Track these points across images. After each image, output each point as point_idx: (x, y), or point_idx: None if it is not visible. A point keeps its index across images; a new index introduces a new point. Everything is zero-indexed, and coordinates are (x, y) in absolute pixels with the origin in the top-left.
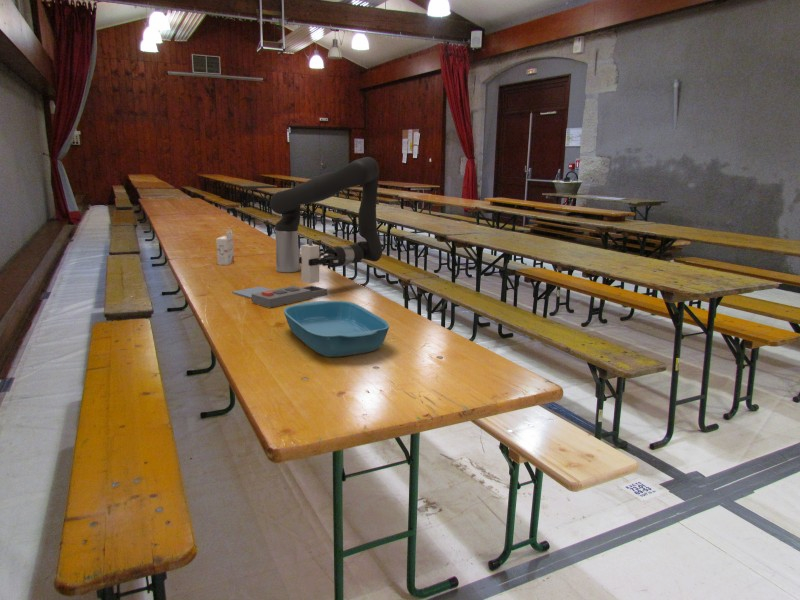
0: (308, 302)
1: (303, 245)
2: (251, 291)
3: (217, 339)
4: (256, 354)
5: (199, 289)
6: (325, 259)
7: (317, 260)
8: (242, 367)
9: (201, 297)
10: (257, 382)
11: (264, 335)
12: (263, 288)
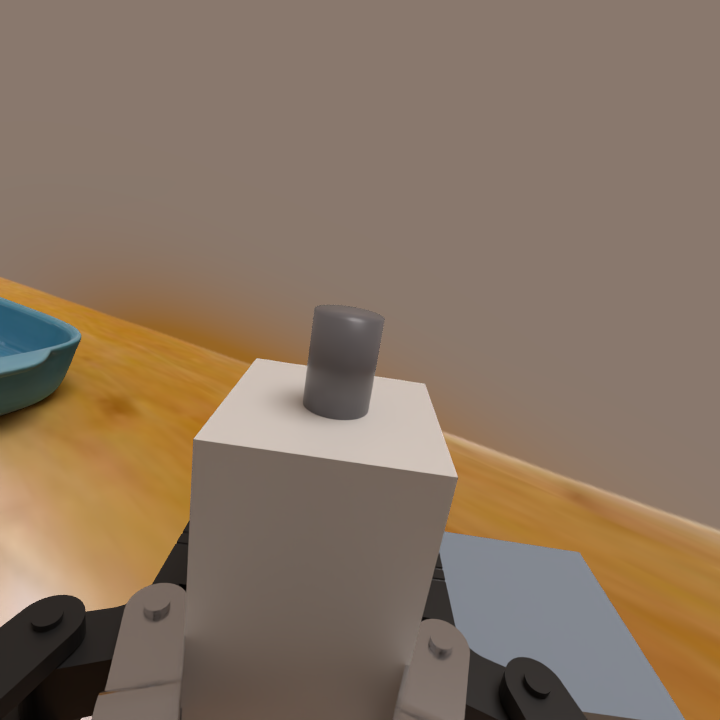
0: (9, 361)
1: (385, 378)
2: (548, 598)
3: (199, 349)
4: (80, 330)
5: (691, 539)
6: (18, 621)
7: (162, 571)
8: (79, 312)
9: (547, 482)
10: (30, 298)
11: (116, 367)
12: (610, 694)
